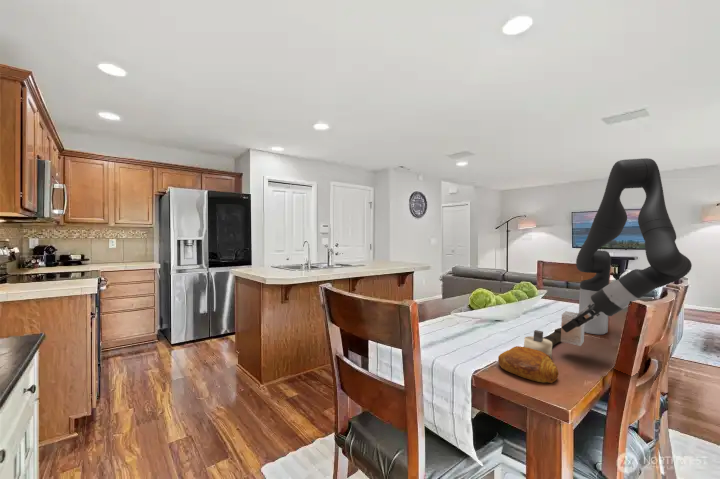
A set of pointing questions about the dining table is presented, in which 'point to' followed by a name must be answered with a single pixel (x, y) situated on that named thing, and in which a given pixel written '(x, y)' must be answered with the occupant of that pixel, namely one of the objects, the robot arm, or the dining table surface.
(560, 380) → the dining table surface
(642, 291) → the robot arm
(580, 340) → the light grey block
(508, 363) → the croissant
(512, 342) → the dining table surface
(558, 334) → the hand tool
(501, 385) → the dining table surface
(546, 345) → the cream rounded block
